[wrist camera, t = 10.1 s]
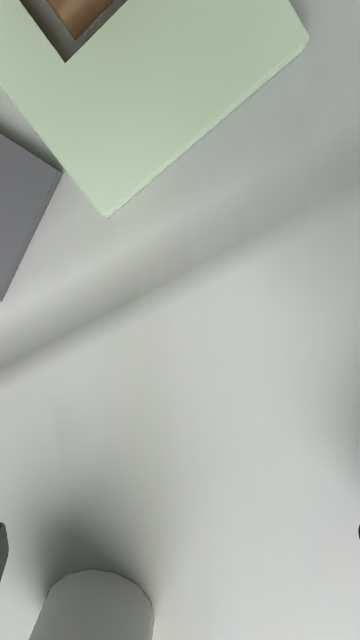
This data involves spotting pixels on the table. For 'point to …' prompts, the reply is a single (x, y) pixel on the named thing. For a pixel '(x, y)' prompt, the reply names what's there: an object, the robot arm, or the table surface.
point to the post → (78, 13)
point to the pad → (20, 203)
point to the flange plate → (142, 83)
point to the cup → (95, 609)
